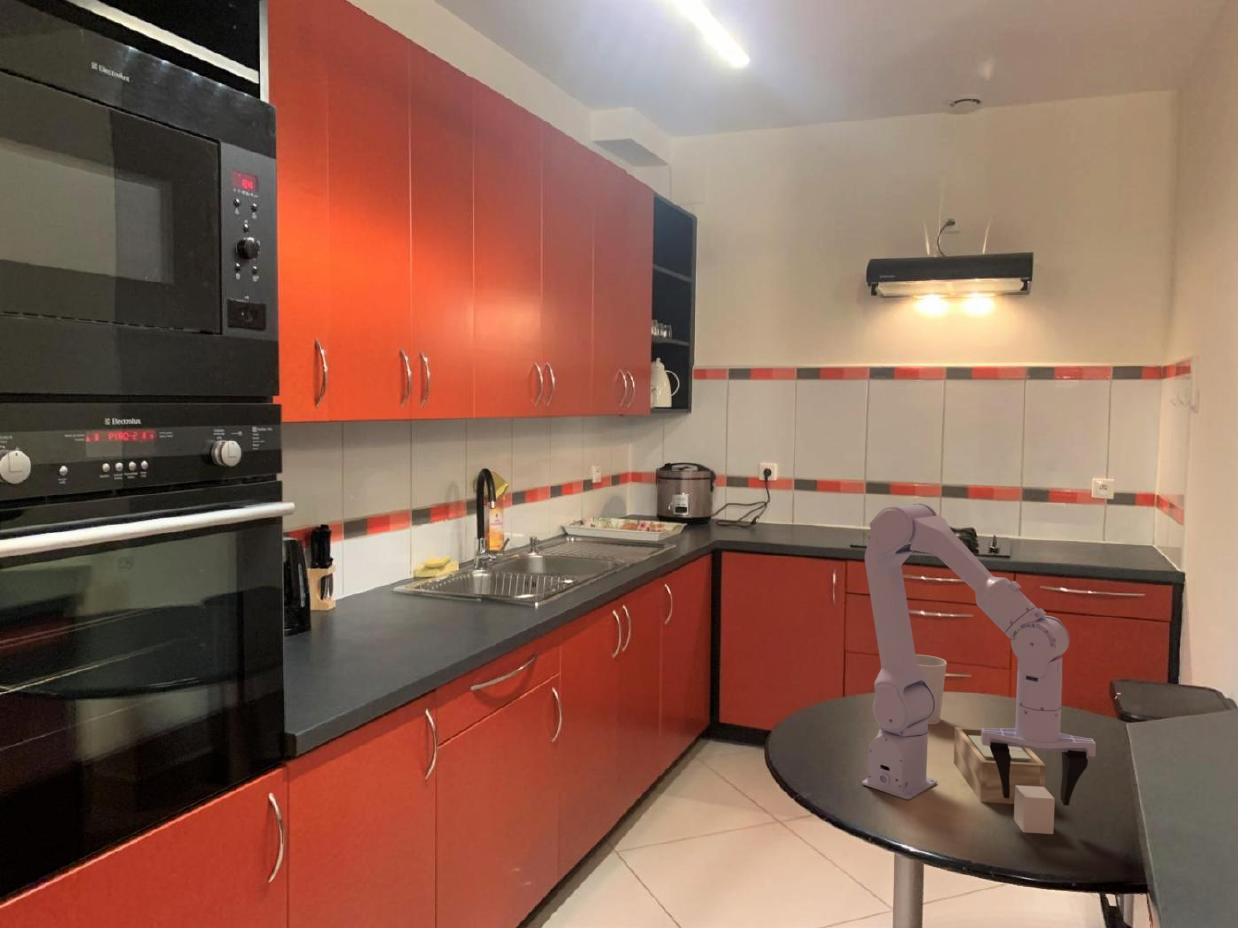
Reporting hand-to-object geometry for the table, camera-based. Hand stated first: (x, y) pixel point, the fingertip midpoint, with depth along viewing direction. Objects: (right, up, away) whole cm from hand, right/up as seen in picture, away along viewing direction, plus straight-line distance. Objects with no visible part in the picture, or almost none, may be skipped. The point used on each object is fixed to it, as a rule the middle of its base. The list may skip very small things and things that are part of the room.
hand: (1035, 798), depth 127 cm
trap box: (+1, -4, +15) cm, 16 cm away
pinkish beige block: (0, -5, 0) cm, 5 cm away
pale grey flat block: (+1, -1, +15) cm, 15 cm away
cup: (-1, -2, +44) cm, 44 cm away
